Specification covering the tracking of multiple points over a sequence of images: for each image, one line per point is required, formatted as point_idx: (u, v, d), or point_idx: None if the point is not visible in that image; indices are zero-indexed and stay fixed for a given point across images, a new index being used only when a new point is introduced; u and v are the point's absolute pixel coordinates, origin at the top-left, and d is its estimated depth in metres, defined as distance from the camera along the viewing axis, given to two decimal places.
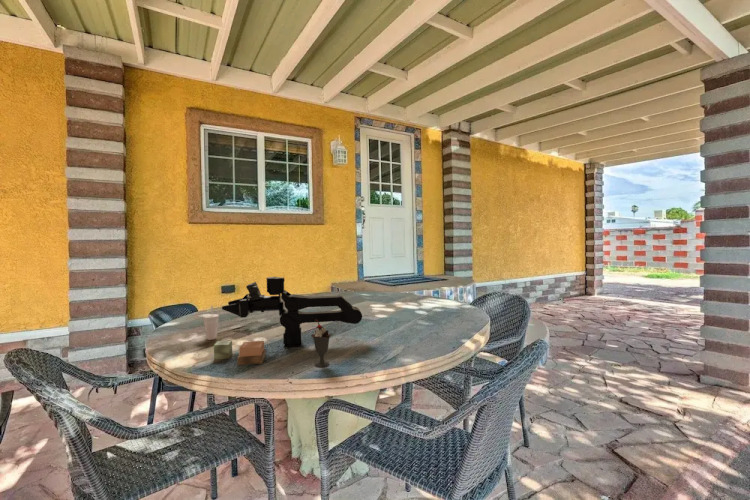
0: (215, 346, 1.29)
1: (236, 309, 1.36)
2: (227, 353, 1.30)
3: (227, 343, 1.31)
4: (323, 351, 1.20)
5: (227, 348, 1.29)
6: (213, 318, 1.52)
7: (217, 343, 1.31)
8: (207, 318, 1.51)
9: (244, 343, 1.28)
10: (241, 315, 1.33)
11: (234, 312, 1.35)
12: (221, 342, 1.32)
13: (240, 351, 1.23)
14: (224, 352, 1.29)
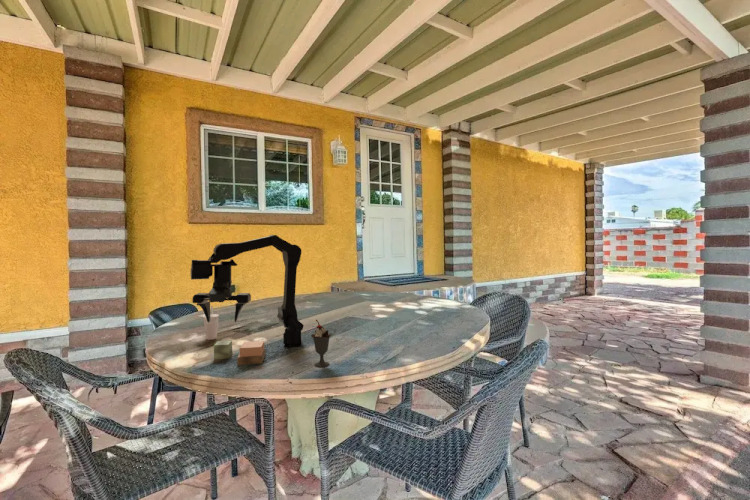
0: (215, 346, 1.29)
1: None
2: (227, 353, 1.30)
3: (227, 343, 1.31)
4: (323, 351, 1.20)
5: (227, 348, 1.29)
6: (213, 318, 1.52)
7: (217, 343, 1.31)
8: None
9: (244, 343, 1.28)
10: (250, 299, 1.35)
11: (241, 307, 1.34)
12: (221, 342, 1.32)
13: (240, 351, 1.23)
14: (224, 352, 1.29)
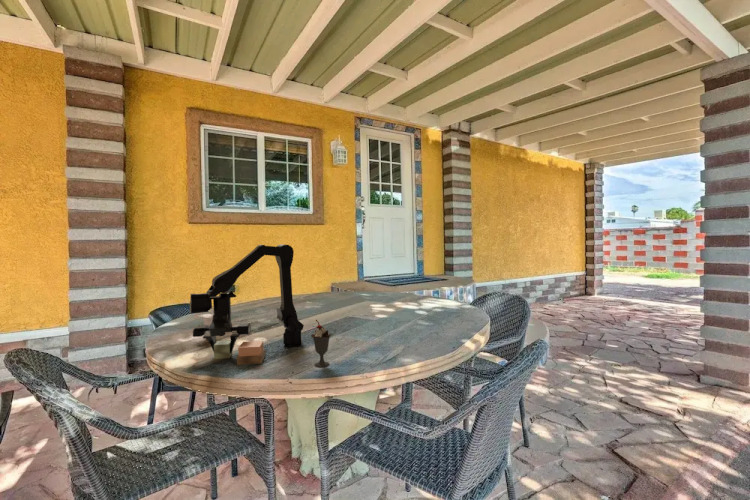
0: (215, 346, 1.29)
1: None
2: (227, 353, 1.29)
3: (227, 342, 1.31)
4: (323, 351, 1.20)
5: (227, 348, 1.29)
6: None
7: (217, 343, 1.31)
8: (207, 318, 1.51)
9: (243, 343, 1.28)
10: (250, 329, 1.35)
11: (236, 338, 1.34)
12: (221, 342, 1.32)
13: (239, 351, 1.23)
14: (224, 352, 1.29)
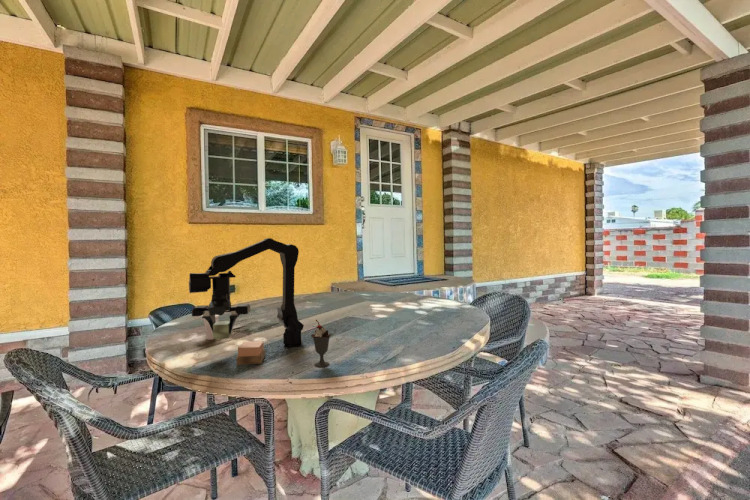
0: (214, 326, 1.28)
1: None
2: (226, 333, 1.29)
3: (226, 323, 1.31)
4: (323, 351, 1.20)
5: (226, 328, 1.29)
6: None
7: (216, 323, 1.30)
8: None
9: (243, 343, 1.28)
10: None
11: (235, 319, 1.33)
12: (220, 322, 1.32)
13: (238, 351, 1.23)
14: (224, 332, 1.29)
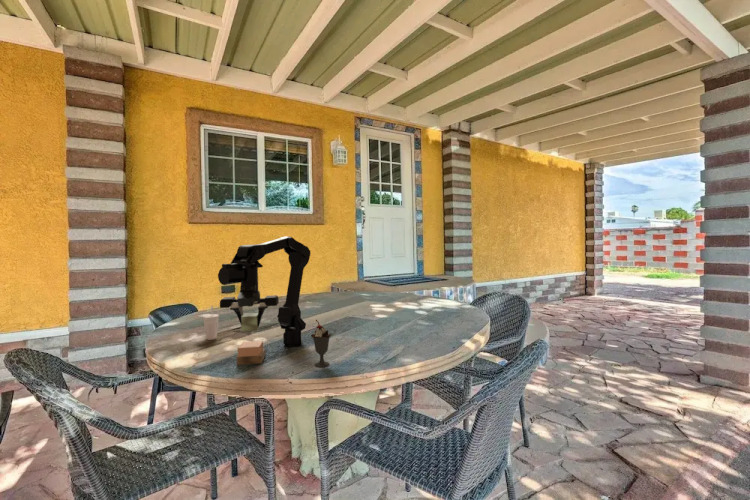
0: (242, 318, 1.24)
1: None
2: (255, 325, 1.25)
3: (254, 314, 1.27)
4: (323, 351, 1.20)
5: (255, 320, 1.25)
6: (213, 318, 1.52)
7: (244, 315, 1.26)
8: (207, 318, 1.51)
9: (243, 343, 1.28)
10: (278, 301, 1.30)
11: (263, 311, 1.29)
12: (248, 314, 1.27)
13: (238, 351, 1.23)
14: (252, 324, 1.25)
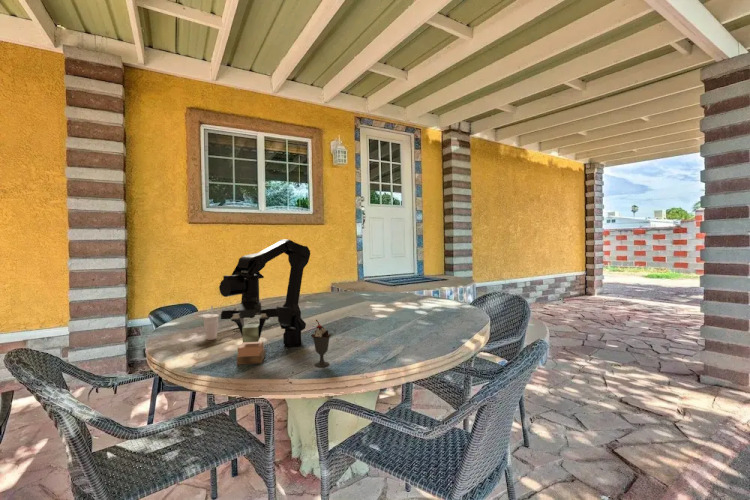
0: (244, 329, 1.24)
1: None
2: (256, 336, 1.25)
3: (255, 325, 1.27)
4: (323, 351, 1.20)
5: (256, 331, 1.25)
6: (213, 318, 1.52)
7: (245, 326, 1.26)
8: (207, 318, 1.51)
9: (243, 343, 1.28)
10: (279, 312, 1.30)
11: (264, 322, 1.29)
12: (249, 325, 1.27)
13: (238, 351, 1.23)
14: (253, 335, 1.25)
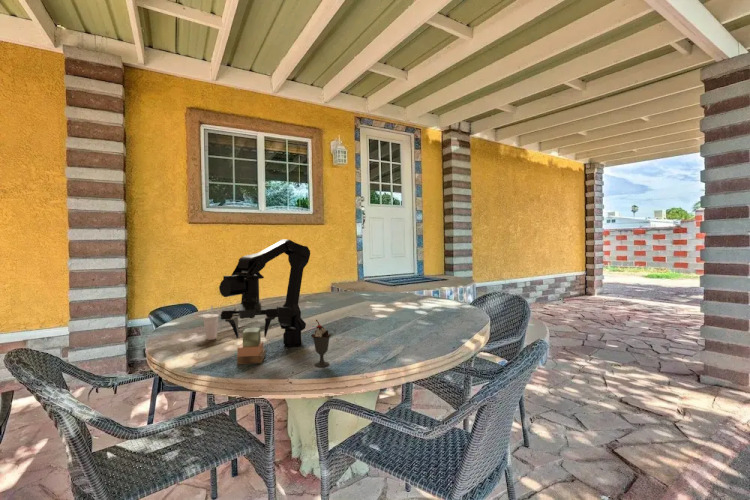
0: (244, 333, 1.25)
1: None
2: (256, 341, 1.25)
3: (255, 330, 1.27)
4: (323, 351, 1.20)
5: (256, 335, 1.25)
6: (213, 318, 1.52)
7: (245, 330, 1.27)
8: (207, 318, 1.51)
9: None
10: None
11: None
12: (249, 329, 1.28)
13: (238, 351, 1.24)
14: (253, 340, 1.25)
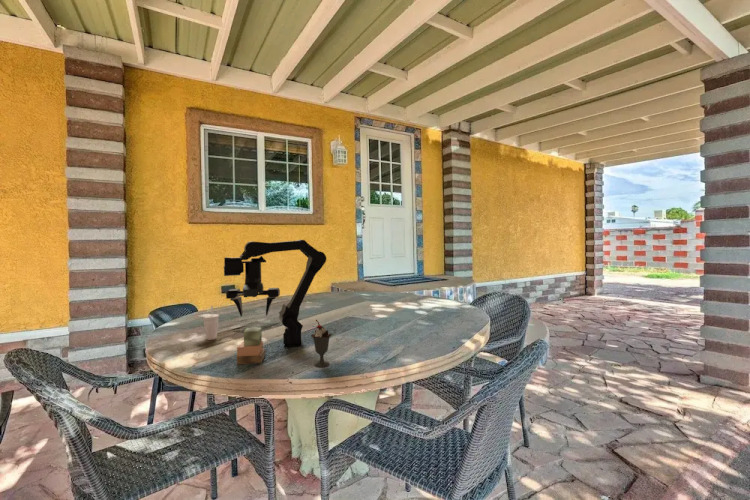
0: (245, 332, 1.25)
1: None
2: (257, 340, 1.26)
3: (256, 329, 1.28)
4: (323, 351, 1.20)
5: (257, 335, 1.26)
6: (213, 318, 1.52)
7: (247, 330, 1.27)
8: (207, 318, 1.51)
9: (243, 343, 1.29)
10: (279, 293, 1.42)
11: (271, 302, 1.41)
12: (250, 329, 1.28)
13: (238, 350, 1.24)
14: (254, 339, 1.26)
